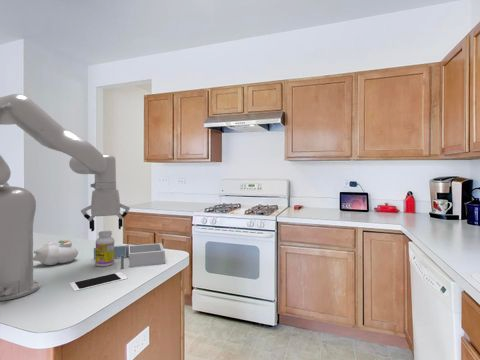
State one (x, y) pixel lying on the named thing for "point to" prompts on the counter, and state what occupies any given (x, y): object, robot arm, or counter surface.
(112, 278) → the cell phone
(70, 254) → the white bunny figurine
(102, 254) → the supplement bottle
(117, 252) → the cover
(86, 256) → the counter surface
